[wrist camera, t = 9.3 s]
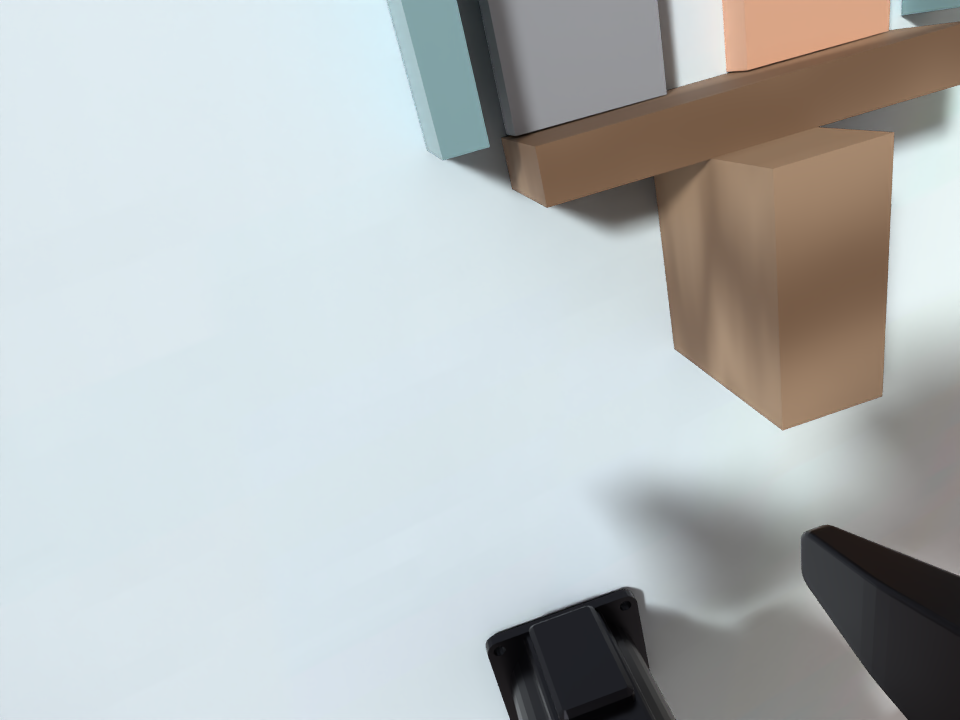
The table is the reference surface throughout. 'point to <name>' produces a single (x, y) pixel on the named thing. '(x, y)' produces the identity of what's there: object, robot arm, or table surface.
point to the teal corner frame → (469, 71)
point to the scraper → (764, 211)
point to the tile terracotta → (795, 28)
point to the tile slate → (571, 58)
